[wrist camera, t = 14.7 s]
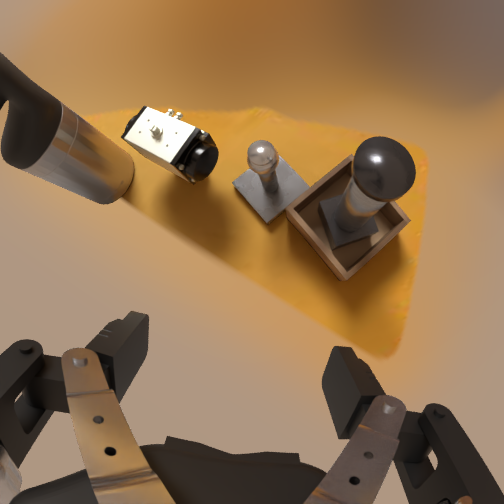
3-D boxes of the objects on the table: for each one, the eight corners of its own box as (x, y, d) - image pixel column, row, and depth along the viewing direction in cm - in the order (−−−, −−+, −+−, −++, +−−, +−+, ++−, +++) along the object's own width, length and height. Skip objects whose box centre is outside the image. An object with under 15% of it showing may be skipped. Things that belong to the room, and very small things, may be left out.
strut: (317, 210, 35) (333, 140, 17) (355, 197, 34) (400, 123, 16) (331, 250, 34) (366, 215, 16) (370, 237, 34) (434, 192, 16)
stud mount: (233, 185, 38) (211, 151, 27) (274, 153, 38) (265, 109, 27) (267, 224, 37) (255, 201, 26) (309, 190, 36) (313, 155, 26)
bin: (287, 218, 36) (285, 207, 31) (345, 169, 36) (351, 153, 31) (339, 281, 34) (346, 280, 30) (397, 228, 34) (410, 220, 29)
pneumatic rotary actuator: (214, 201, 38) (180, 167, 26) (152, 165, 40) (108, 129, 28) (237, 167, 38) (212, 122, 26) (173, 135, 40) (136, 92, 29)
